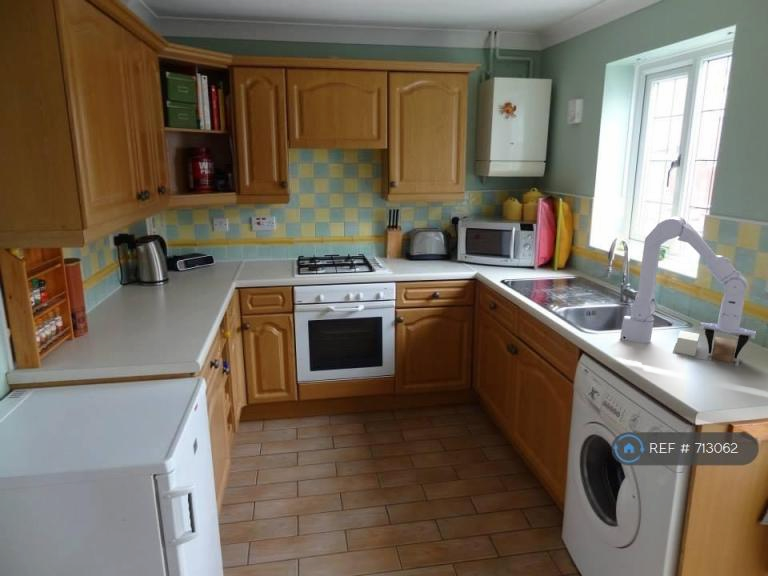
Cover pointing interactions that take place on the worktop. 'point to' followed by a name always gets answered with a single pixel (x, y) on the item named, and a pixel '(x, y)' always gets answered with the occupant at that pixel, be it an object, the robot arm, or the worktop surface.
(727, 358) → the walnut box
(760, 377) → the worktop surface
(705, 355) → the board
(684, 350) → the white box
